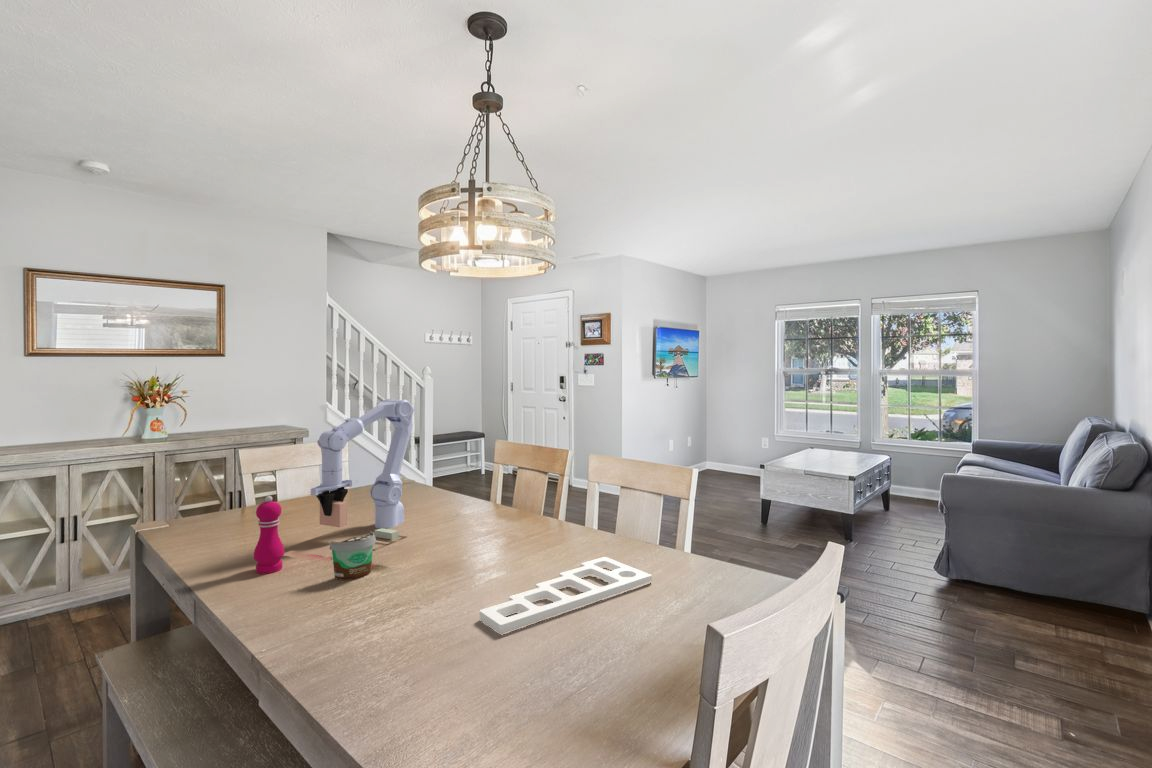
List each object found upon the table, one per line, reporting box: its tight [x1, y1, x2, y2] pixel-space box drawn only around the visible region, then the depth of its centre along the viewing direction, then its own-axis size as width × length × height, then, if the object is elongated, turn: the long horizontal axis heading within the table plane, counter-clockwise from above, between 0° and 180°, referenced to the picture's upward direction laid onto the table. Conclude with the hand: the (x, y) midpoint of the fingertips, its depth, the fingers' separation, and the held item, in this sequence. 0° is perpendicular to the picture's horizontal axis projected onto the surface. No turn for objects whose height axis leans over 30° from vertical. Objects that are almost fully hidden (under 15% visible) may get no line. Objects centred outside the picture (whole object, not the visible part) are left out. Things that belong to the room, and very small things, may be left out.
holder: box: [479, 556, 653, 634], centre depth 135 cm, size 45×18×3 cm, turn 129°
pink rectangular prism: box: [319, 501, 348, 528], centre depth 171 cm, size 3×8×7 cm, turn 68°
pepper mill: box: [253, 495, 285, 575], centre depth 150 cm, size 7×7×20 cm
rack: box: [373, 532, 407, 552], centre depth 170 cm, size 15×12×2 cm
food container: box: [329, 530, 377, 581], centre depth 146 cm, size 12×6×10 cm, turn 143°
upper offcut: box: [374, 528, 400, 541], centre depth 175 cm, size 3×7×2 cm, turn 65°
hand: (332, 514), depth 171 cm, fingers closed on pink rectangular prism, 3 cm apart
